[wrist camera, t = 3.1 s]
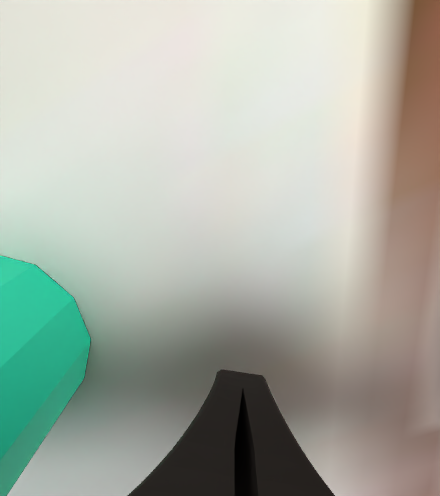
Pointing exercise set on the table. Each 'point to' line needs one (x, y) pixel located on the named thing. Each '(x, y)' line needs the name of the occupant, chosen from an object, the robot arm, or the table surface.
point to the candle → (34, 361)
